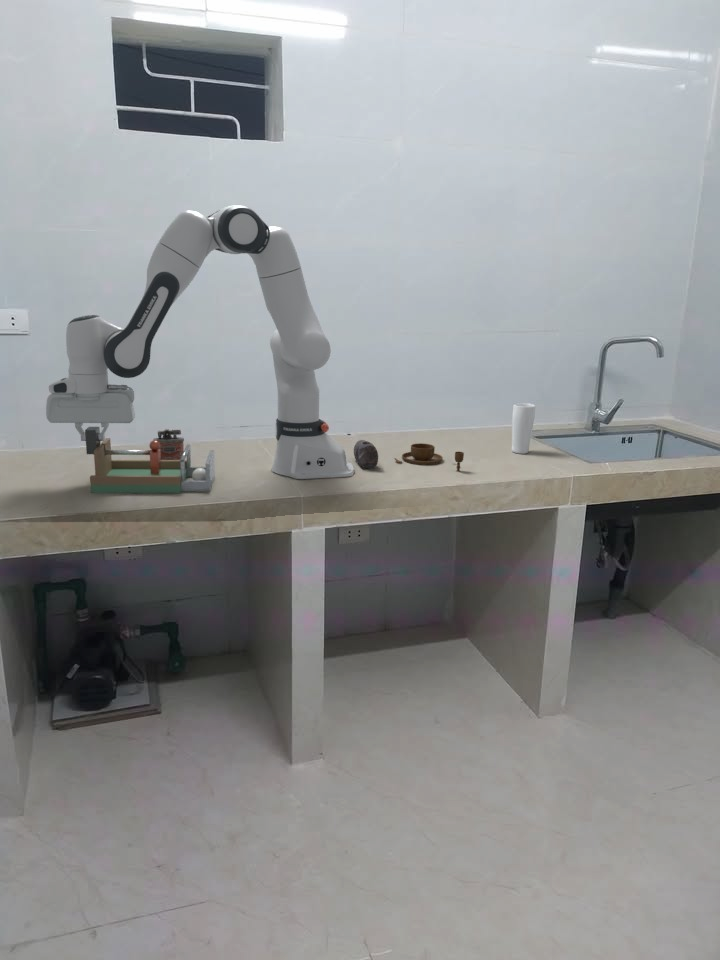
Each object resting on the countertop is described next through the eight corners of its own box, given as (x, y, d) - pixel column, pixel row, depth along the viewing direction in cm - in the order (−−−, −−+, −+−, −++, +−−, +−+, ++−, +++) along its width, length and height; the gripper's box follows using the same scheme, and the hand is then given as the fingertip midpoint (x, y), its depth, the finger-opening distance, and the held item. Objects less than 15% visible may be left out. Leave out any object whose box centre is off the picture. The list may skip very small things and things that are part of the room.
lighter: (154, 467, 202) (153, 431, 199) (154, 464, 205) (152, 428, 202) (185, 466, 204) (183, 430, 201) (184, 463, 207) (183, 427, 204)
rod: (162, 469, 188) (160, 427, 185) (160, 474, 185) (158, 430, 182) (91, 469, 186) (88, 426, 183) (88, 473, 183) (85, 430, 180)
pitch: (187, 474, 196) (186, 437, 193) (180, 492, 180) (179, 452, 178) (105, 474, 193) (103, 437, 190) (91, 492, 178) (88, 452, 175)
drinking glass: (532, 455, 229) (537, 407, 225) (510, 454, 230) (515, 406, 225) (528, 450, 236) (533, 403, 232) (507, 449, 236) (511, 402, 232)
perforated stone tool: (349, 457, 219) (350, 434, 217) (366, 457, 220) (367, 434, 218) (360, 471, 205) (361, 446, 203) (379, 470, 206) (380, 446, 204)
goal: (214, 476, 195) (213, 444, 193) (210, 491, 182) (209, 457, 180) (187, 475, 195) (186, 444, 192) (181, 491, 181) (179, 457, 179)
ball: (210, 468, 190) (195, 464, 189) (209, 472, 186) (193, 468, 185) (206, 483, 191) (191, 478, 190) (205, 487, 187) (189, 483, 186)
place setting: (445, 456, 227) (446, 437, 225) (466, 474, 208) (467, 453, 206) (389, 457, 223) (390, 438, 222) (405, 475, 204) (406, 454, 203)
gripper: (135, 382, 183) (138, 437, 187) (49, 381, 181) (54, 437, 184) (131, 387, 177) (134, 443, 181) (41, 385, 175) (46, 443, 178)
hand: (93, 440), depth 183 cm, fingers closed on rod, 2 cm apart
